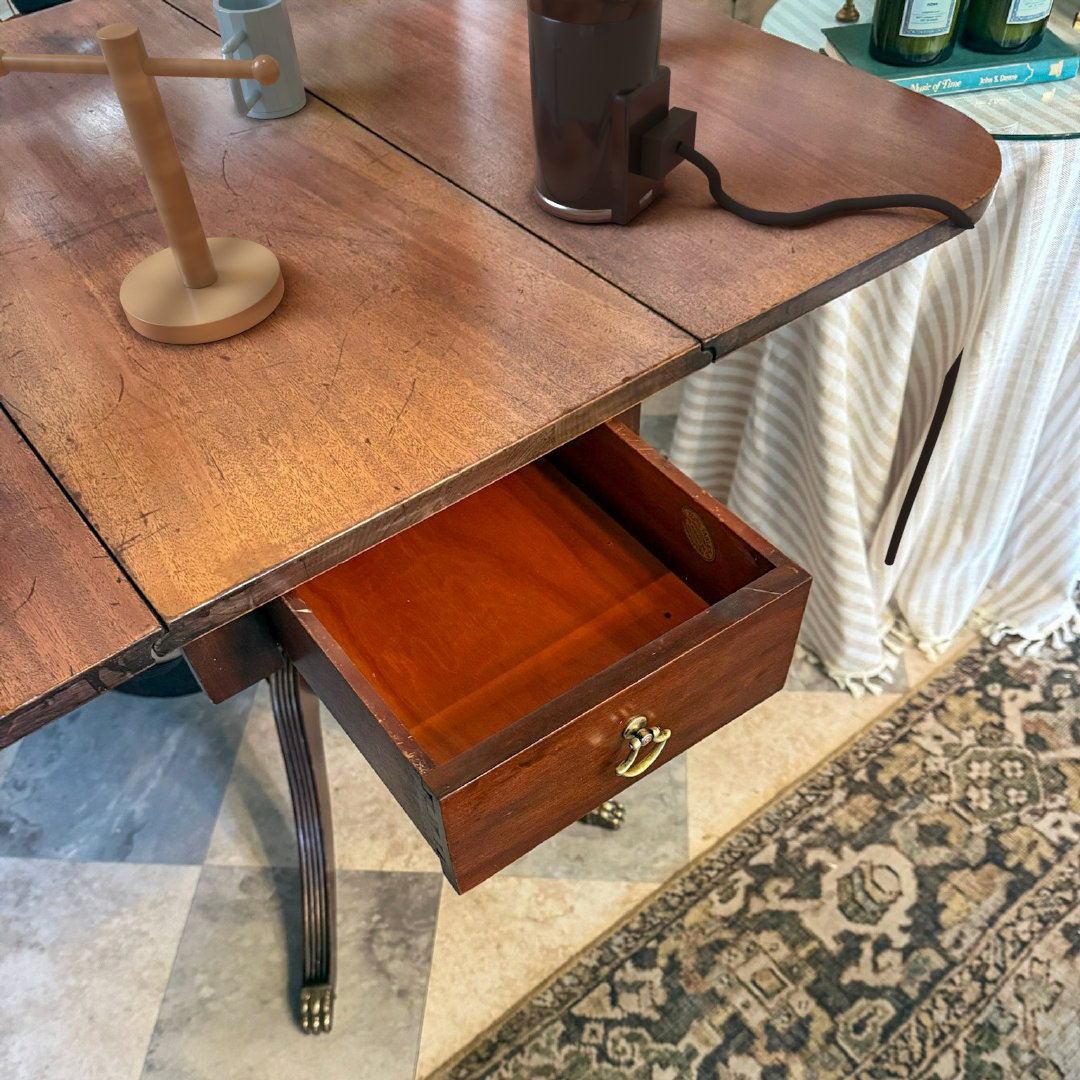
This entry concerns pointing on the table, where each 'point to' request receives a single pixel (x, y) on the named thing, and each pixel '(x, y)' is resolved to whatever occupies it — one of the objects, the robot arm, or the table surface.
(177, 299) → the mug tree
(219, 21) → the mug
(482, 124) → the table surface
